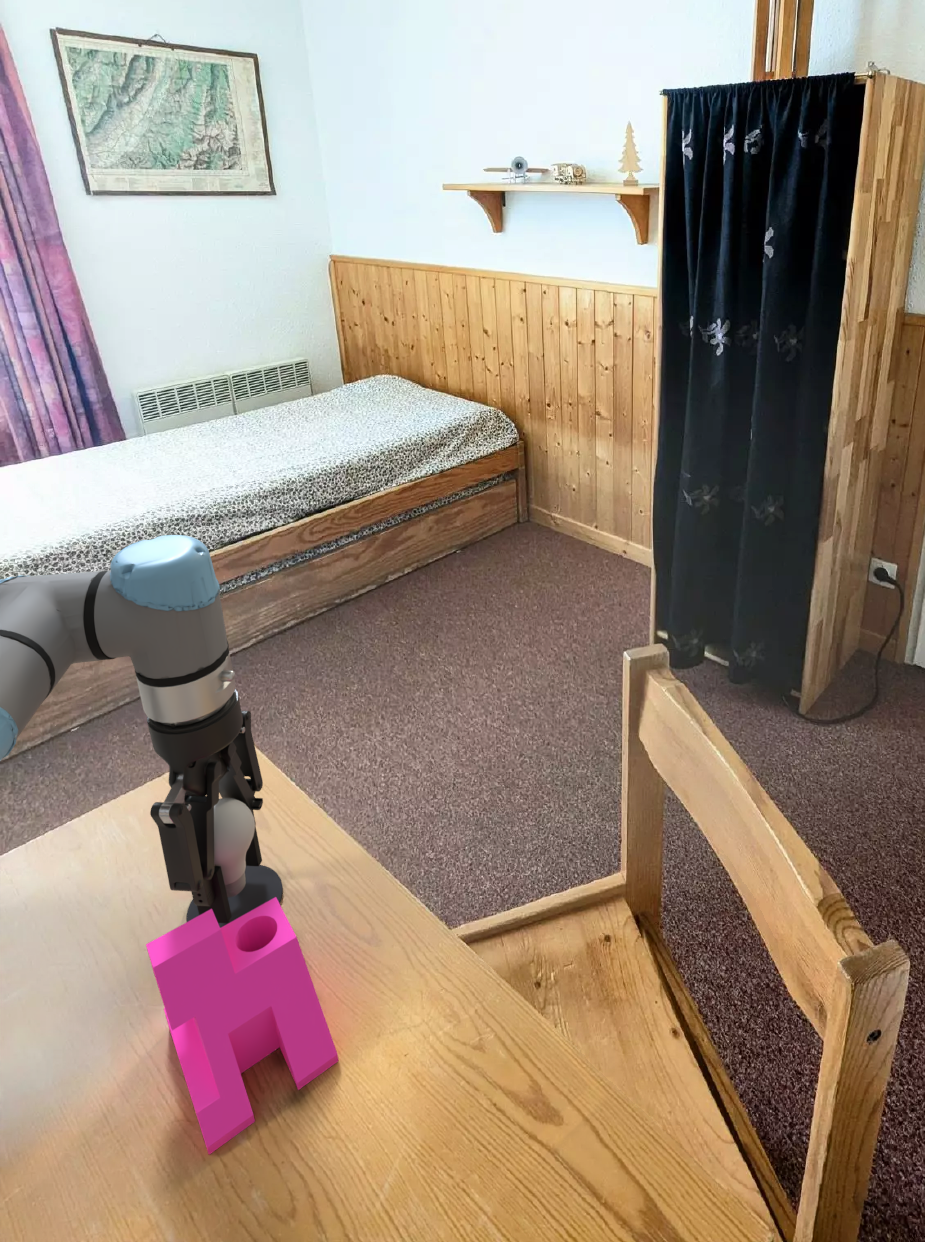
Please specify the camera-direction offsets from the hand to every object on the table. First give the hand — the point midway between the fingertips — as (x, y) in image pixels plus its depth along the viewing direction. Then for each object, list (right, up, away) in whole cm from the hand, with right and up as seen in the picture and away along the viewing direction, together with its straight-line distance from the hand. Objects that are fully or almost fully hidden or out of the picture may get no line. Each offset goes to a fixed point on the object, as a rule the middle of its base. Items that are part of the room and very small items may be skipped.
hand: (232, 889), depth 78 cm
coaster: (0, -2, +1) cm, 2 cm away
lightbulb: (0, 0, 0) cm, 1 cm away
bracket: (+7, -7, -12) cm, 15 cm away
